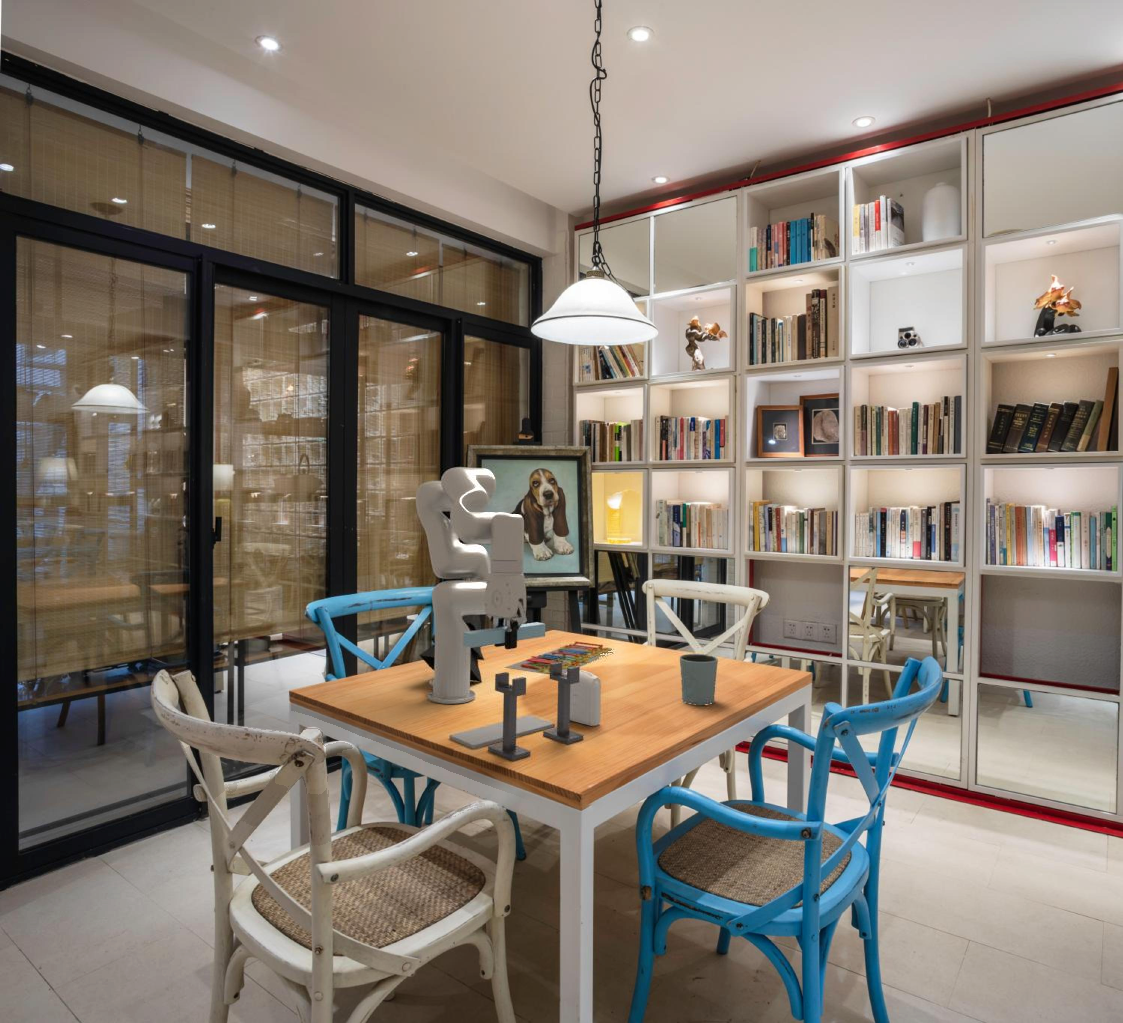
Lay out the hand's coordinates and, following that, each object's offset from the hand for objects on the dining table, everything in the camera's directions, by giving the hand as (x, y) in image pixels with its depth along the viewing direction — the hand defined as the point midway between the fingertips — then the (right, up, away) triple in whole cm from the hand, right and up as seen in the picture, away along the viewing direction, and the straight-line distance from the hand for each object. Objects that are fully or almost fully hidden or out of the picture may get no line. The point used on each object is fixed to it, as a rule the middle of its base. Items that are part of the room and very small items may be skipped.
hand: (505, 646), depth 171 cm
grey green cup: (+50, -21, +30) cm, 62 cm away
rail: (0, +1, 0) cm, 1 cm away
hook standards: (+7, -20, -8) cm, 23 cm away
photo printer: (+18, -20, +10) cm, 29 cm away
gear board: (+14, -20, +81) cm, 84 cm away
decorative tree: (-17, -19, +49) cm, 55 cm away
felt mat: (-1, -20, 0) cm, 20 cm away
